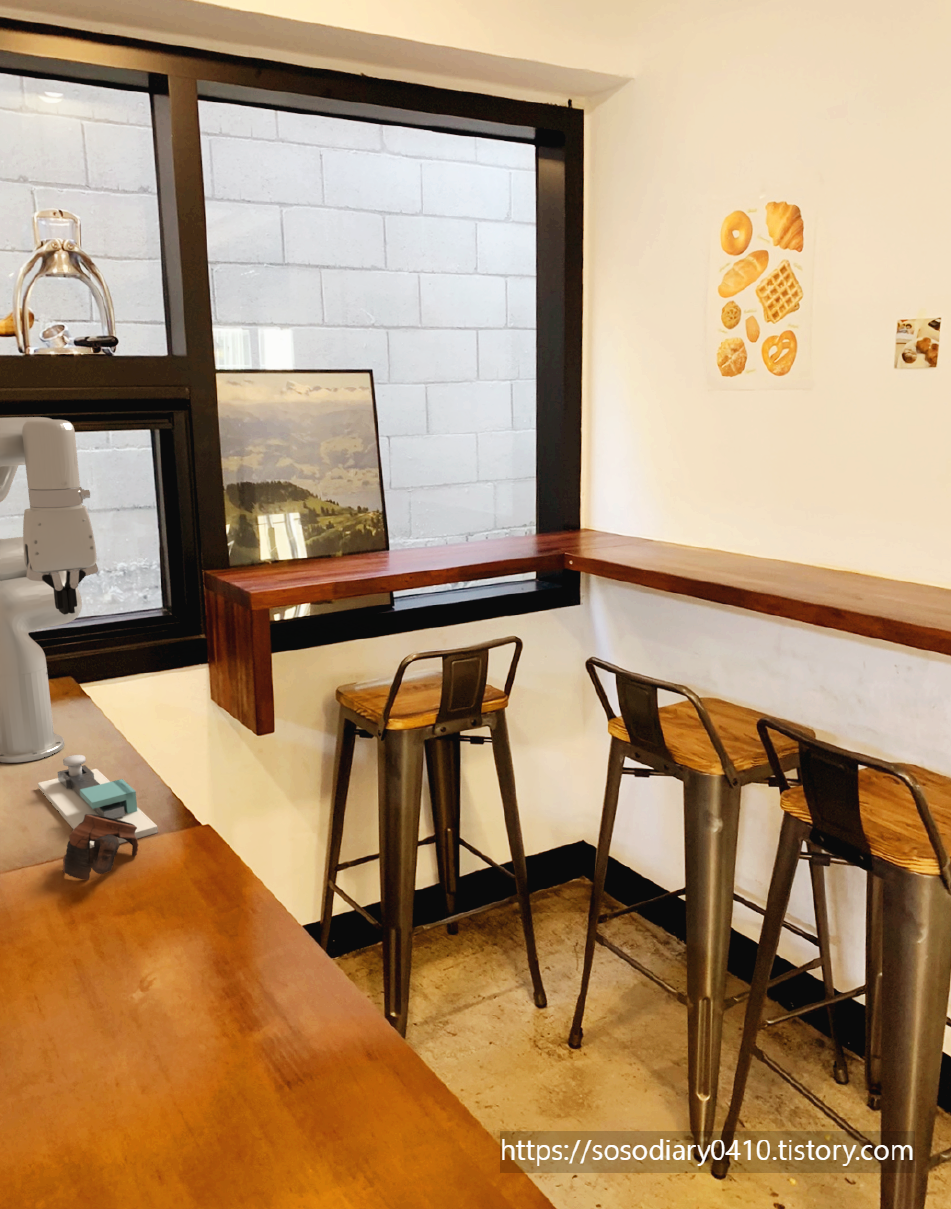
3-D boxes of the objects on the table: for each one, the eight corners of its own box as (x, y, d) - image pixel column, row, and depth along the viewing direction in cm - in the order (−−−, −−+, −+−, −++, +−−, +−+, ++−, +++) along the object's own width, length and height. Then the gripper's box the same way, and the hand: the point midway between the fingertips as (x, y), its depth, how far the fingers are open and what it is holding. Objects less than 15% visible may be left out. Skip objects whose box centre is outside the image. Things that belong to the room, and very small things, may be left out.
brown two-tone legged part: (50, 866, 132) (71, 808, 134) (117, 879, 137) (136, 822, 139) (68, 881, 122) (90, 817, 124) (140, 894, 127) (159, 833, 129)
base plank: (38, 788, 157) (35, 758, 156) (97, 773, 163) (94, 745, 161) (92, 851, 136) (89, 817, 134) (158, 832, 141) (155, 799, 140)
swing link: (58, 780, 157) (57, 771, 156) (85, 773, 159) (84, 765, 159) (99, 822, 142) (99, 813, 141) (129, 814, 144) (128, 805, 144)
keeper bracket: (81, 809, 147) (79, 789, 146) (124, 798, 151) (122, 778, 150) (94, 823, 142) (92, 802, 141) (137, 811, 146) (135, 791, 145)
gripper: (96, 493, 157) (106, 602, 161) (-2, 500, 148) (11, 615, 152) (111, 498, 151) (121, 609, 155) (10, 505, 142) (23, 624, 146)
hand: (66, 612), depth 154 cm, fingers closed
